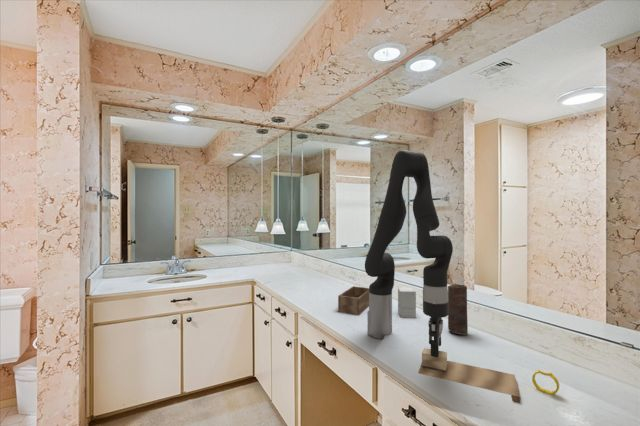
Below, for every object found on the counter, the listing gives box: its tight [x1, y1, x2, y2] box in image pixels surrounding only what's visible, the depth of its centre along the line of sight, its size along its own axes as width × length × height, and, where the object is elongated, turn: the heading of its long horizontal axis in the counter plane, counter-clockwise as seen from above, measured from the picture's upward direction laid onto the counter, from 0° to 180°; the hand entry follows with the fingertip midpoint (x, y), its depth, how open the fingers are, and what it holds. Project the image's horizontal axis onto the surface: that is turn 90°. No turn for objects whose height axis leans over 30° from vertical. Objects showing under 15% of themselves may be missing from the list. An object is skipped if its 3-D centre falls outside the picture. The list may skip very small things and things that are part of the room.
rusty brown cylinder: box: [447, 283, 469, 336], centre depth 125 cm, size 8×7×20 cm
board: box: [418, 360, 521, 403], centre depth 91 cm, size 26×12×2 cm, turn 63°
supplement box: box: [397, 286, 417, 319], centre depth 146 cm, size 7×7×13 cm
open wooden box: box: [337, 285, 369, 316], centre depth 158 cm, size 11×21×8 cm, turn 153°
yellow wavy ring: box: [531, 367, 560, 395], centre depth 85 cm, size 6×3×6 cm, turn 42°
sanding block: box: [421, 347, 448, 372], centre depth 95 cm, size 7×4×4 cm, turn 63°
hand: (436, 350), depth 95 cm, fingers open, 8 cm apart
